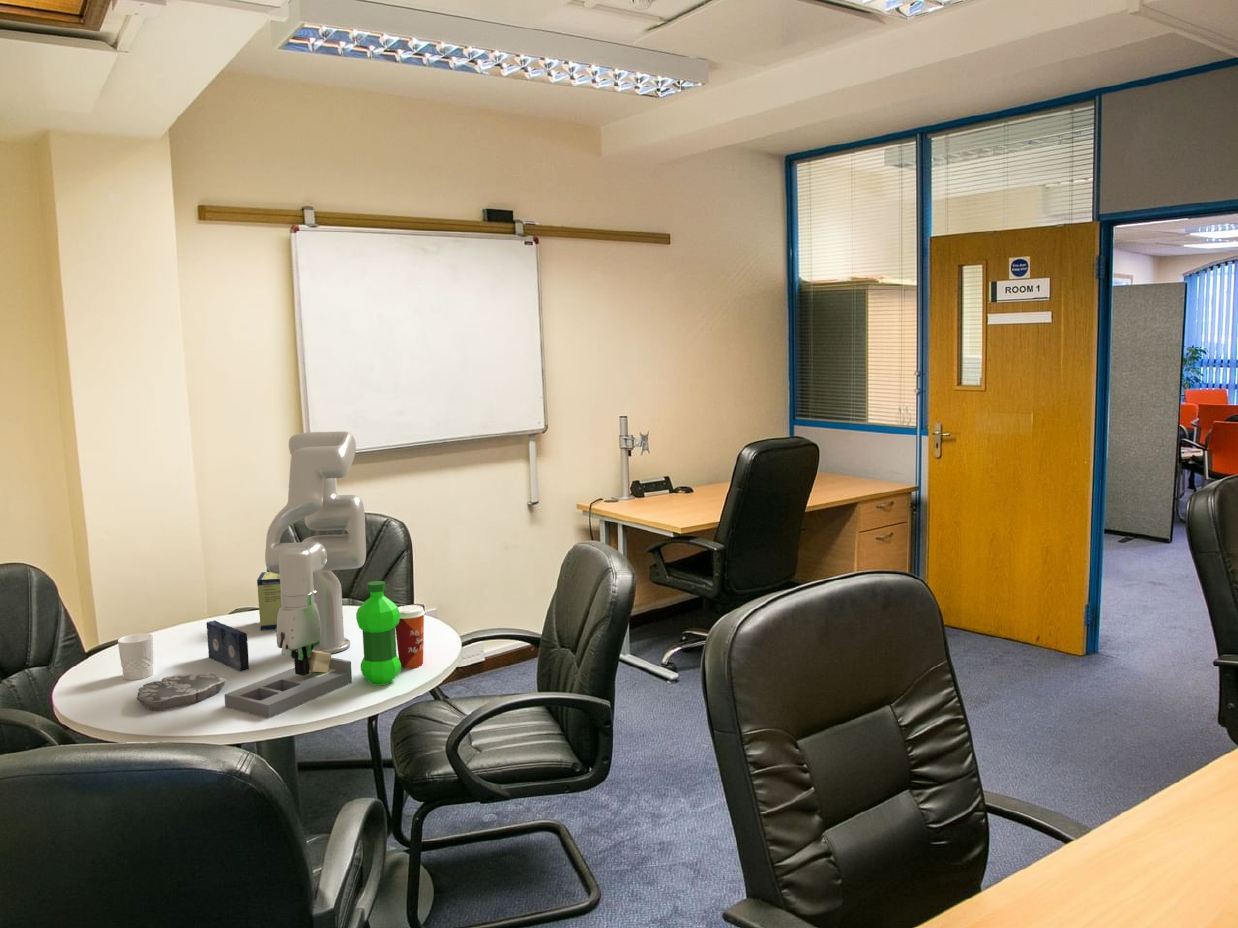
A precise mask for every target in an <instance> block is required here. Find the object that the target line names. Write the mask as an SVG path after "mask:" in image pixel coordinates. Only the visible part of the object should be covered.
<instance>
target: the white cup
mask: <svg viewBox="0 0 1238 928" xmlns="http://www.w3.org/2000/svg"><path fill="white" fill-rule="evenodd" d="M153 639H154V638H153V634H151V633H147V632H146V633H133V634H130V635H129V634H127V635H125V636H122V637H120V638H118V639H117V643H118V645H117V646H118V653H119V660H120V665H121V668H122V676H123V679H125V680H127V681H128V680H129V681H137V680H141V679H142V680H143V679H146V678H148V677H151V676H152V675H153V673H154V643H153Z"/></svg>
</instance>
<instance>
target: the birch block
mask: <svg viewBox="0 0 1238 928" xmlns="http://www.w3.org/2000/svg"><path fill="white" fill-rule="evenodd" d="M332 654H333V653H331V654H329V653H326V652H322V651H314V650H312V651H311V656H310V657H309V671H313V672H327V673H328V668H329V664H330V659H331V657H332Z"/></svg>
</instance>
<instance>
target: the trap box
mask: <svg viewBox="0 0 1238 928" xmlns="http://www.w3.org/2000/svg"><path fill="white" fill-rule="evenodd" d="M352 677H353V675H352V661H350V660H346V659H342V658H338V657H337V658H335V657H332V656H331V659H330V664H329V668H328V673H327V672H313V671H309V674H306V675H304V676H302V675H298V674H296V673H295V667H293V668H290V669H287V670H285V671H281V672H280V673H276V674H274V675H271V676H269V677H266V678H263V679H261V680H259V681H255V682H253V683H251V684H248V685H246V686H243V687H240V688H238V689H235V690H234V689H233V691H229V692H227V693H225V694H224V707H225V708H228V709H232V710H236V711H239V712H240V711H241V712H245V713H248V714H252V715H257V716H259V717H262V718H263V717H264V718H268V719H270V718H273V717H275V716H278V715H280V714H282V713H284V712H287V711H289V710H291V709H294V708H296V707H299V706H301V705H303V704H305V703H306V704H307V703H308V702H310V701H313V700H315V699H317V698H320V697H322V696H325V695H327V694H330V693H331V692H334V691H336V690H338V689H340V688H344V687H345V686H348V685H350V684H352V683H353V678H352Z"/></svg>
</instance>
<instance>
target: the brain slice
mask: <svg viewBox="0 0 1238 928" xmlns="http://www.w3.org/2000/svg"><path fill="white" fill-rule="evenodd" d="M225 683H226V679H225V678H224V677H223V676H220V675H218V674H214V673H188V674H187V673H186V674H176V675H170V676H166V677H163V678H162V679H161V680H154V681H152V682H146V683H145V684H143V685H142V686H141V687H139V688H138V692H137V695H136V700H137V701H138V702H139V703H140V704H141V705H143V706H144V707H147V708H148V709H149V710H150V711H157V712H158V711H167V710H171V709H176V708H180V707H185V706H188V705H191V704H194V703H199V702H202V701H205V700H206V699H208V698H211V697H212V696H215V695H217V694H218V693H219V692H220V691H221V690H222V688H223V687H224V686H225Z"/></svg>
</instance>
